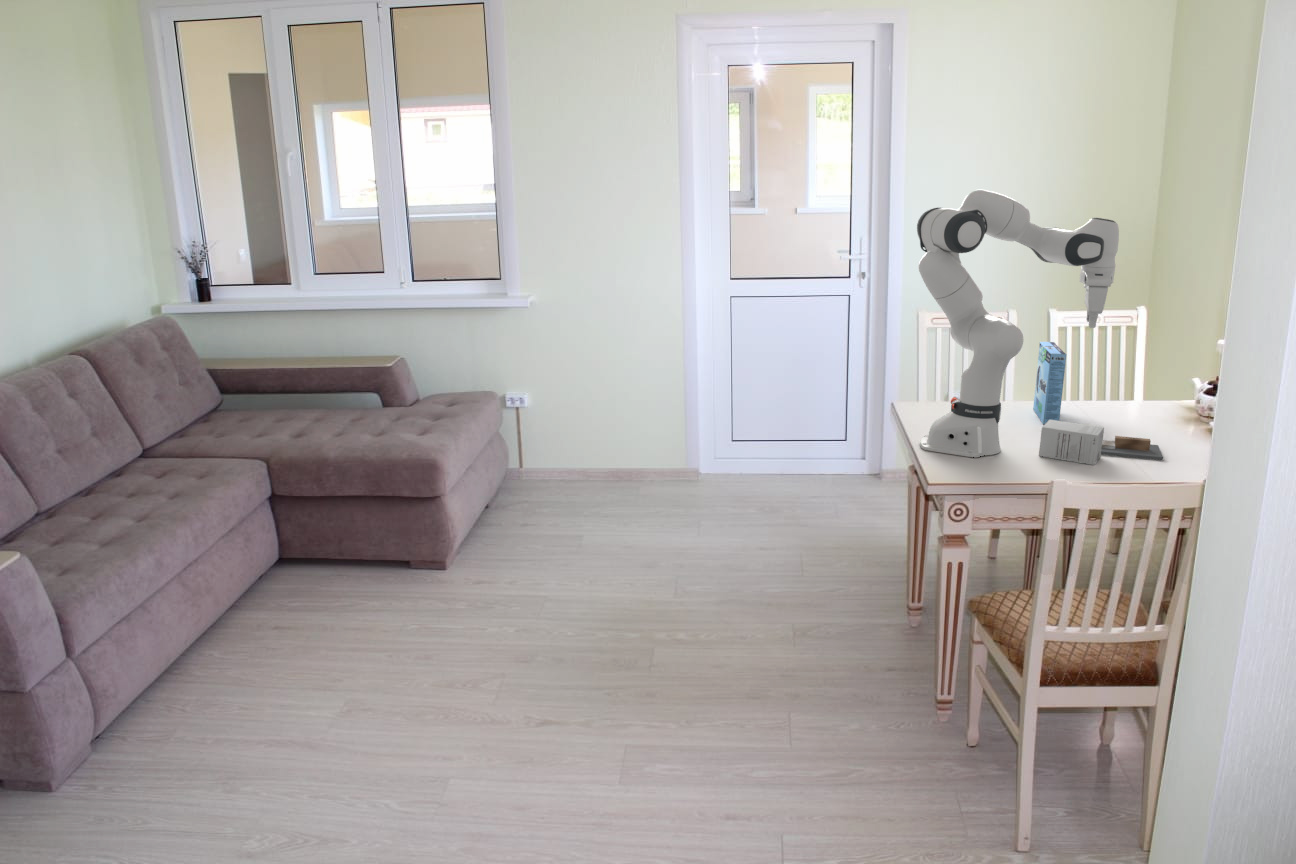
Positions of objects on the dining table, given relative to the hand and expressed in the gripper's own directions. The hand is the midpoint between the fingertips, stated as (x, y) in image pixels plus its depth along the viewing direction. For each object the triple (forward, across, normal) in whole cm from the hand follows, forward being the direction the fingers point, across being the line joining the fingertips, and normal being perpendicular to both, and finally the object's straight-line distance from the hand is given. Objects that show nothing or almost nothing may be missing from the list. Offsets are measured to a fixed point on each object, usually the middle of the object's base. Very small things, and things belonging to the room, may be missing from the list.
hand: (1090, 324), depth 285 cm
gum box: (+35, -25, -8) cm, 44 cm away
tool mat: (+35, +6, +12) cm, 38 cm away
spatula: (+34, +6, +12) cm, 37 cm away
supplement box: (+31, +19, +5) cm, 36 cm away
